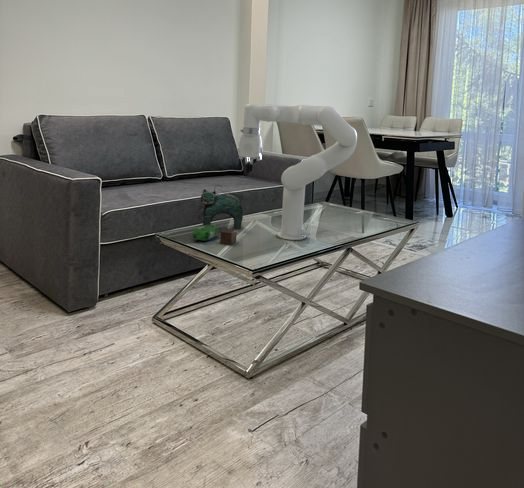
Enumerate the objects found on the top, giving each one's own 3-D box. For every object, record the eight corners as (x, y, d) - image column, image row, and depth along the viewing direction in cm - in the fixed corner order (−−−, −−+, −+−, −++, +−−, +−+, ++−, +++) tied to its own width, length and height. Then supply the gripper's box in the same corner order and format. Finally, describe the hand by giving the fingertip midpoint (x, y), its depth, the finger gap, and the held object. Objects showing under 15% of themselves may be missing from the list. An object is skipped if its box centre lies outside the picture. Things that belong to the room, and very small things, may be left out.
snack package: (189, 242, 203) (189, 229, 203) (206, 233, 218) (206, 222, 218) (204, 244, 201) (205, 232, 200) (220, 236, 216) (221, 224, 215)
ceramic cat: (199, 228, 226) (201, 185, 225) (199, 225, 233) (200, 183, 232) (242, 229, 230) (244, 186, 228) (241, 226, 236) (243, 184, 235)
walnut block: (236, 242, 207) (236, 230, 206) (231, 245, 202) (231, 232, 202) (225, 240, 208) (226, 228, 208) (220, 243, 204) (220, 231, 204)
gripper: (232, 131, 221) (230, 172, 222) (264, 133, 215) (261, 175, 216) (239, 130, 228) (237, 170, 229) (270, 132, 222) (268, 173, 223)
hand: (249, 172), depth 223 cm, fingers closed
